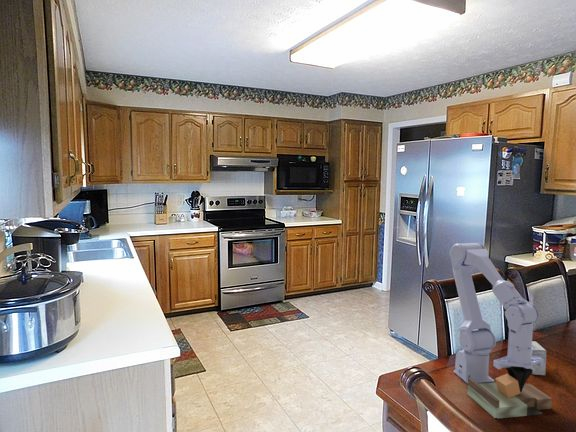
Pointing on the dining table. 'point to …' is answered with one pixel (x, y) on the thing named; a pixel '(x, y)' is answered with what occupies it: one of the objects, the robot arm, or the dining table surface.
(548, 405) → the board
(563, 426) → the dining table surface
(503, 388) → the orange block
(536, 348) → the medicine box
